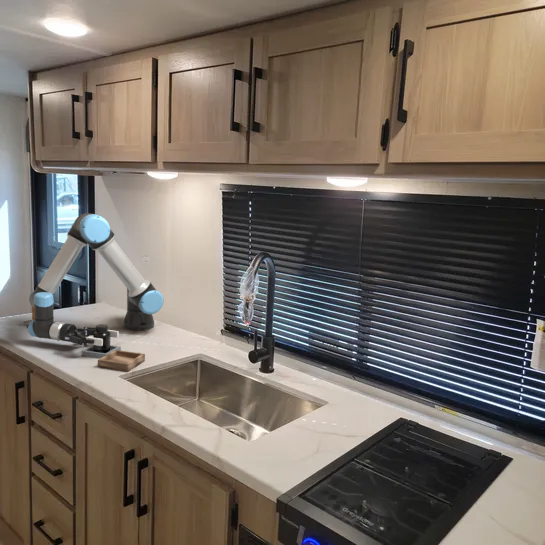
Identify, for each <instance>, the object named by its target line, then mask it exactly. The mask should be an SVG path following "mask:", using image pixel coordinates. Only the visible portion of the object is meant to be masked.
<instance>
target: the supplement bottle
mask: <svg viewBox="0 0 545 545" xmlns="http://www.w3.org/2000/svg"><path fill="white" fill-rule="evenodd" d="M95 327H96V332H95V333H94V334H93V336H92V338H99V339H103V346H98V345H92V346H93V352H99V353H107V352H109V351H111V350H110V345H111V338H112V337H111V334H110V332H109V331H108V330H109V325H108V324H104V323H102V324H97V325H96V326H95Z"/></svg>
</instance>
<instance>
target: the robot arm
mask: <svg viewBox="0 0 545 545" xmlns="http://www.w3.org/2000/svg"><path fill="white" fill-rule="evenodd" d="M66 236H67V238H66V240H65V241H64V243H63V245H62V246H61V248H60V249H59V251H58V253H57V254H56V256H55V257H54V259H53V261H52V262H51V264H50V266H48V269H47V270H46V272H45V273H44V275H43V277H42V279H41V280H40V282H39V283H38V285H37V286H36V288H35V291H34V290H33V291H32V292H31V293H30V294H29V297H28V300H29V304H30V305H31V307H32V306H33V308H34V320H32V321H31V320H30V321H29V323H28V326H27V327H28V328H27V331H28V333H29V335H30V336H31V337H35V338H39V339H46V340H55V341H57V342H59V341H61V342H66V343H67V342H68V343H73V344H75V345H78V346H84V347H86V346H87V345H91V346H93V345H98V346H103V339H99V338H93V334H94V333H95V332H96V326H94V327H92V326H91V327H90V326H89V327H88V326H83V327H77V326H76V325H75V324H74V323H66V322H60V321H59V322H58V321H54V294H55V293H56V291H57V289H58V287H59V286H60V284H61V282H62V281H63V280H64V278H65V276H66V274H67V273H68V271H69V270H70V268H71V267H72V265H73V264H74V262H75V260H76V259H77V257H78V255H79V254H80V253H81V251H82V249H83V248H84V247H86V246H87V245H88V246H89V247H90V249H91V250H92V251H97V252H98V253H99V254H100V256H102V258H103V260H105V262H106V263H107V264H108V266H109V267H110V268H111V269H112V271H113V272H114V273H115V275H116V276H117V277H118V278H119V280H120V281H121V282H122V283H123V286H125V288H126V313H125V316H124V318H123V323H122V324H123V326H122V327H123V328H124V329H127V330H131V331H145V330H150V329H153V328H154V327H155V318H154V316H153V315H154V314H156V313H158V312H159V311H160V310H161V309H162V308H163V305H164V301H165V300H164V297H163V294H162V292H160V291H159V290H157V289H156V288H155V286H154V285H153V284H152V282H151V281H150V280H149V279H144V277H143V276H142V275H141V273H140V272H139V270H138V269H137V268H136V267H135V266H134V263H133V262H132V261H131V260H130V258H128V256H127V254H126V253H125V252H124V251H123V249H122V248H121V246H120V245H119V244H118V243H117V241H116V240H115V233H114V232H113V230H112V228H111V227H110V224H109V222H108V221H107V219H106V218H104V217H103V216H101V215H99V214H94V213H92V212H91V213H90V212H85V213H82V214H80V215H78V217H76V219H74V222H73V223H72V225H71V227H70V228H69V230H68V232H67V234H66ZM108 331H109V332H110V334H111V338H114V339H115V338H117V339H118V338H119V330H110V329H108ZM91 336H92V337H91Z"/></svg>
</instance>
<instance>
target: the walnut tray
mask: <svg viewBox="0 0 545 545" xmlns="http://www.w3.org/2000/svg"><path fill="white" fill-rule="evenodd" d="M145 362H146V353H141V352H140V353H139V352H133V351H127V350H121V351H120V350H115V351H113V352H111V353H109V354H108V355H106V356H104V357H102V358H98V359H97V368H98V367H100V368H99V369H105V368H106V370H113V371H117V372H118V371H120V372H125V373H129V372H130V371H131V370H133V369H135V368H137V367H139V366H140V365H142V364H143V363H145Z"/></svg>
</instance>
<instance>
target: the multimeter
mask: <svg viewBox="0 0 545 545" xmlns="http://www.w3.org/2000/svg"><path fill="white" fill-rule="evenodd" d="M36 288H37V283H35V284H34V287H33V291H35V290H36ZM31 315H32V317H31V318H32V320H34V308H33V306H32V305H31ZM32 320H30V322H31V321H32ZM27 322H28V320H26V321H25V320H24V321H23V322H22V323H16V324H17V325H20V326H25V324H24V323H27ZM28 327H29V324H26V328H27V329H28Z"/></svg>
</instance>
